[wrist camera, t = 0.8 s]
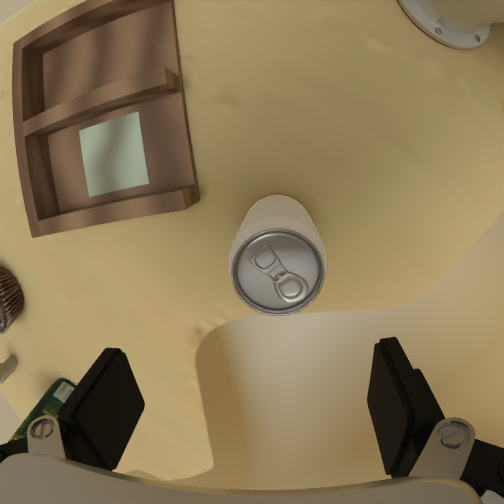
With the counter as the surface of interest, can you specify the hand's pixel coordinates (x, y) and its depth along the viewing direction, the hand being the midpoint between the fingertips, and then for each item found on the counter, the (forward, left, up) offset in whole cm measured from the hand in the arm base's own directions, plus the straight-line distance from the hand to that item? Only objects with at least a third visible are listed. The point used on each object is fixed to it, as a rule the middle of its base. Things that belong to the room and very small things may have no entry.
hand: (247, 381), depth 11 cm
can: (-1, 0, -21) cm, 21 cm away
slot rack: (+15, -15, -21) cm, 30 cm away
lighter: (+46, +17, -21) cm, 53 cm away
